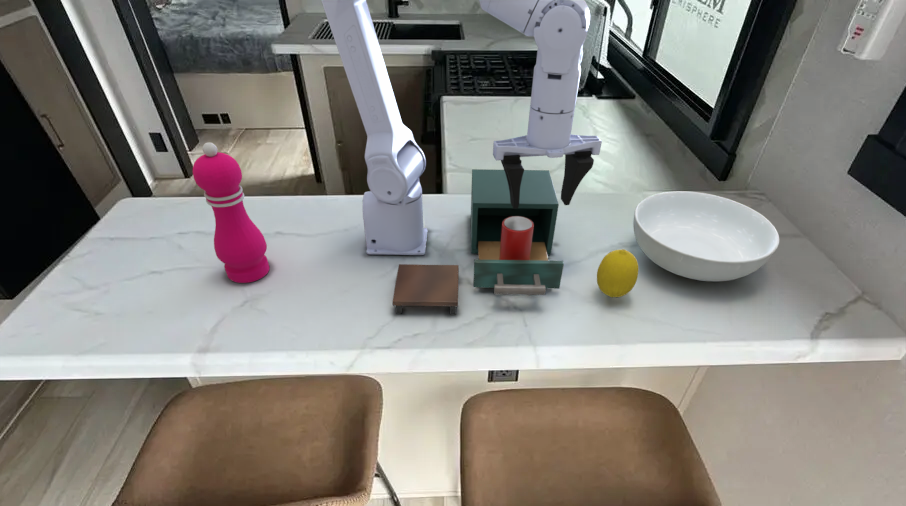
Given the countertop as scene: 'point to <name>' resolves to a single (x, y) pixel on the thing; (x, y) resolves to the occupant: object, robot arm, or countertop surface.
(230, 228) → the pepper mill
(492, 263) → the handled drawer
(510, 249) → the can
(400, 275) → the brown square board
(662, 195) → the serving bowl
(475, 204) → the teal open box
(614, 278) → the lemon
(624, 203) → the countertop surface
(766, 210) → the countertop surface
